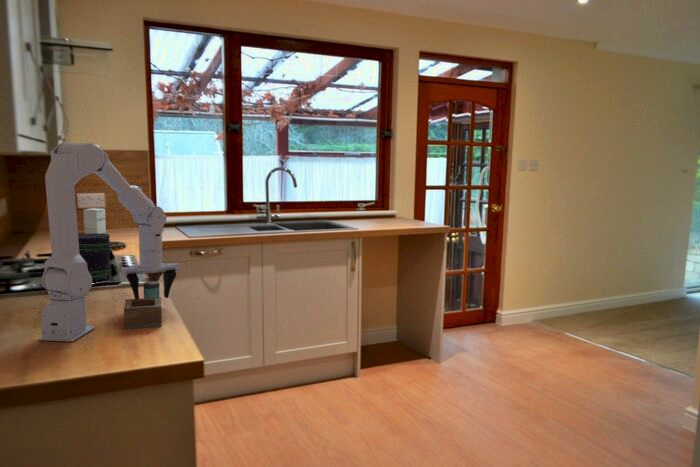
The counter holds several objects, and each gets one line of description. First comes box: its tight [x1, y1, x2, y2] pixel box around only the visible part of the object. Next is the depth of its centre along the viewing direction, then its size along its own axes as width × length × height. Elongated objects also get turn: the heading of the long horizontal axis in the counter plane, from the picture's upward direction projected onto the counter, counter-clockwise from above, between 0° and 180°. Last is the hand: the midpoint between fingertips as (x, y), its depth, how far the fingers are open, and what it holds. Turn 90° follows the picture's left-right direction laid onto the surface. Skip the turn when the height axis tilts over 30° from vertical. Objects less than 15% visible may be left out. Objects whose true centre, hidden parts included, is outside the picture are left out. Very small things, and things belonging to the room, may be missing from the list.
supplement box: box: [83, 207, 107, 234], centre depth 260 cm, size 7×7×13 cm
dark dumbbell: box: [146, 272, 163, 281], centre depth 176 cm, size 6×5×15 cm
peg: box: [142, 280, 161, 299], centre depth 139 cm, size 4×4×7 cm
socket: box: [123, 297, 163, 330], centre depth 127 cm, size 8×8×5 cm
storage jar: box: [78, 233, 112, 283], centre depth 165 cm, size 10×10×15 cm
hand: (151, 298), depth 139 cm, fingers open, 7 cm apart
